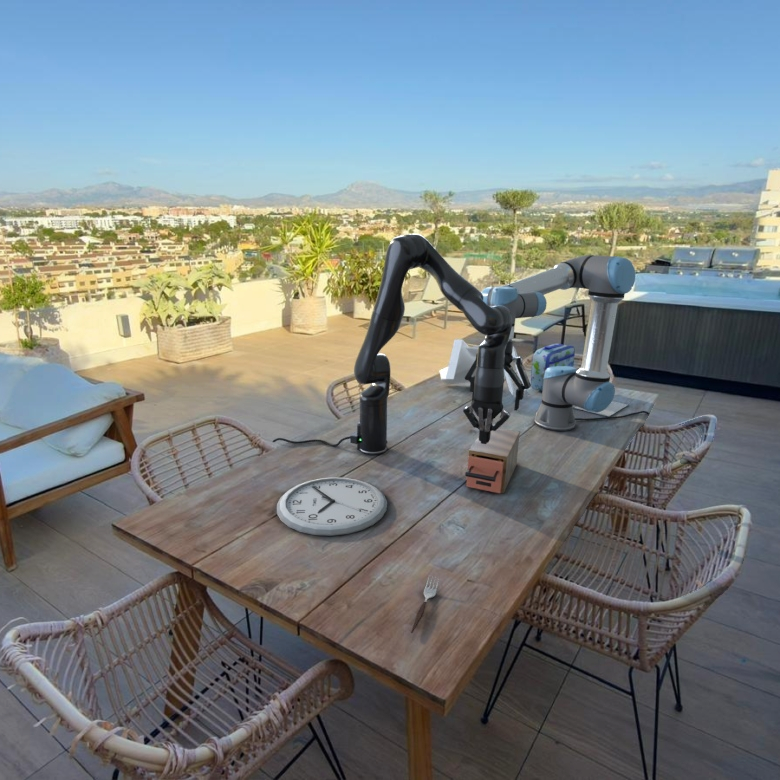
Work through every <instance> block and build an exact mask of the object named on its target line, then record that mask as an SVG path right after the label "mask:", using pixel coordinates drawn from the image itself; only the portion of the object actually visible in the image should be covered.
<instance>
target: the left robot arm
mask: <svg viewBox="0 0 780 780" xmlns="http://www.w3.org/2000/svg"><path fill="white" fill-rule="evenodd" d="M417 268H420V269H421V270H423V271H424V272H427V273H428V274H429V275H431V276H432V277H433V279H434V280H435V282H436V285H437V286H438V288H439V291H440V292H441V294H442V295H443V297H444V298H445V299H446V300H447V301H448V302H449V303H450V304H451V305H452V306H454V307H455V308H456V309H457V310H459V311H460V312H461V313H463V315H464V316H465V318H466V319H467V321H468V322H469V323H470V325H471V326H472V327H473V328H474V329H475V330H476V331H477V332H478V333H480V334H481V335H483V336H484V340H483V341H482V342H481V343H480V344H479V348H478V354H477V367H476V372H475V383H474V398H473V401H472V400H471V404H470V405H468V406H467V405H466V406H465V407H464V409H463V411H462V412H463V414H464V416H465V417H466V418H467V419H468V422H470V425H472V427H473V428H474V429H478V430H479V431H478V432H479V433H478V436H479V441H481V443H482V444H487V442H489V440H490V436H491V431H496V430H497V429H498V428H500V427H502V425H503V424H504V423H506V422H507V421H508V420H509V419H510V417H511V412H508V411H506V410H505V409H504V405H503V392H504V383H505V373H504V360H505V349H506V346H507V343H508V340H509V336H510V333H511V328H512V315H511V312H510V311H509V309H508V308H507V307H505V306H502V305H497V306H492V307H490V306H488V305H487V304H486V303H485V302H484V301H483V295H482V293H481V292H482V291H480V290H479V289H478V288H477V287H475V286H474V284H472V283H471V282H469V281H468V280H467V279H465V277H463V276H462V275H461V274H460V273H458V272H457V271H456V270H455V269H454V268H453V267H452V266H451V265H450V264H449V263H448V262H447V260H446V259H445V258H444V257H443V256H442V255H441V254H440V253H439V251H438V250H437V249H436V248H435V247H434V246H433V245H432V243H430V242H429V240H428V239H427V238H426V237H425V236H423V235H421V234H419V233H409V234H406V235H398V236H396V237H393V239H392V240H391V241H390V242H389V244H388V246H387V249H386V253H385V258H384V264H383V270H382V276H381V279H380V283H379V288H378V292H377V295H376V299H375V302H374V305H373V309H372V312H371V315H370V319H369V323H368V326H367V330H366V334H365V336H364V339H363V341H362V345H361V346H360V349H359V352H358V354H357V356H356V359H355V361H354V368H353V374H354V378H355V380H356V382H357V383H359V384H361V385H369V386H368V387H367V388H366V389H364V390H363V391H361V393H360V394H359V422H358V423H357V425H356V431H355V432H354V433H352V434H351V435H349V436H346V437H342V438H341V439H340V440H339V441H338V442H337V443H335V444H332V443H330V442H328V441H325V440H323V439H306V440H300V441H299V440H298V441H294V440H290V439H286V438H283V437H276V438H274V439H272V441H271V442H272V443H276V442H277V441H282V442H287V443H289V444H296V445H297V444H306V443H315V442H317V443H321V444H322V443H323V444H325V445H326V446H329V447H338V446H340V445H341V444H342V442H344V441H346V440H349V441H350V444H353V445H357V446H356V450H357V451H360V452H361V453H363V454H365V455H371V456H372V455H373V456H374V455H376V456H377V455H381V454H384V453H386V452H387V450H388V439H387V438H388V437H387V436H388V397H389V394H390V386H391V385H390V383H391V362H390V359H389V358H388V356H387V355H386V354H384V353H380V351H382V349H383V348H384V347H385V346H386V345H387V344H388V343H389V342H390V341H391V340H392V338H394V337H395V336H396V334H397V333H398V332H399V329H400V327H401V324H402V321H403V318H404V315H405V310H406V304H405V300H404V296H403V285H404V282H405V278H406V277H407V274H408V272H409V270H413V269H417ZM499 414H500V415H499ZM498 416H499V420H497V421H496V423H494V424H493V422H494V419H496V417H498ZM477 417H478V418H477ZM485 427H486V429H485Z"/></svg>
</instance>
